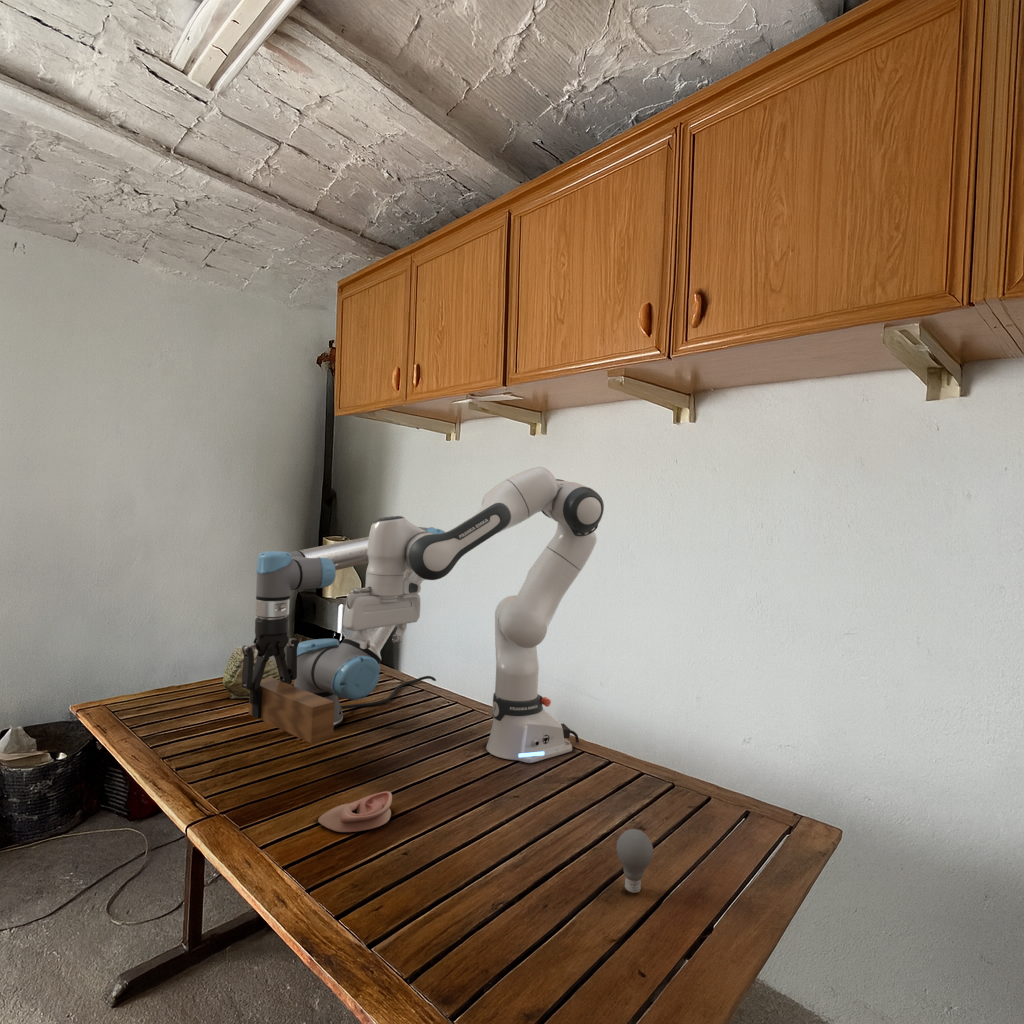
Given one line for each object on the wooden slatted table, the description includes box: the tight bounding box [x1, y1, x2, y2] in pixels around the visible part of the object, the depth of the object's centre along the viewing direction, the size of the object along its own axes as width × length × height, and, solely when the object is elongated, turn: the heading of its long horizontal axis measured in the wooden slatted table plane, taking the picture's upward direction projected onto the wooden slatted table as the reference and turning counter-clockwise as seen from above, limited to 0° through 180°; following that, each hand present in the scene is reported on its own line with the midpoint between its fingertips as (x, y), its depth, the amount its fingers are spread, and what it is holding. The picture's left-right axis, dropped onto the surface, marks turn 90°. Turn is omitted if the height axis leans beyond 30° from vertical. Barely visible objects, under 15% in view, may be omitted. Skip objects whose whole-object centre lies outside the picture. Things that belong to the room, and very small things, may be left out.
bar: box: [248, 677, 335, 745], centre depth 145 cm, size 26×6×8 cm, turn 51°
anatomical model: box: [317, 791, 393, 833], centre depth 125 cm, size 13×4×12 cm
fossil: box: [222, 646, 280, 699], centre depth 198 cm, size 9×18×15 cm, turn 132°
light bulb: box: [615, 828, 654, 894], centre depth 106 cm, size 6×6×10 cm
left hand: (268, 713), depth 151 cm, fingers closed on bar, 5 cm apart
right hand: (381, 645), depth 147 cm, fingers open, 8 cm apart
